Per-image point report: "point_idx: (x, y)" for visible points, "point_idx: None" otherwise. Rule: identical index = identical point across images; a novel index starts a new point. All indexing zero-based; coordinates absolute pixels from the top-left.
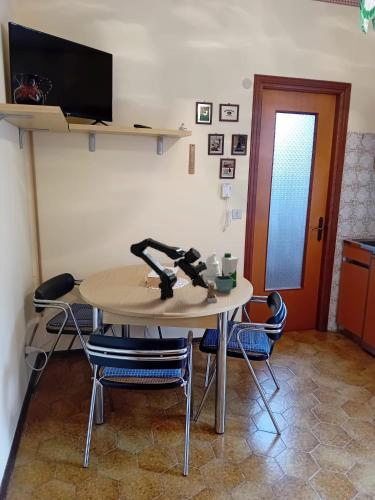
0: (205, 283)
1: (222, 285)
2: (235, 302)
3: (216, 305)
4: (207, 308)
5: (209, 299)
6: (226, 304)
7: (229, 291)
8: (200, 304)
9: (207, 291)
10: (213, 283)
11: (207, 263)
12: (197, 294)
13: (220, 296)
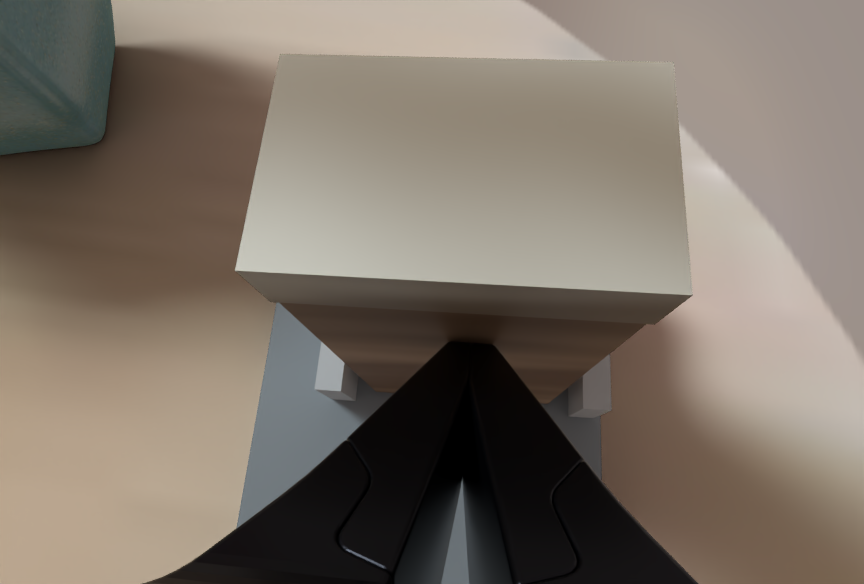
0: (453, 418)
1: (38, 15)
2: (495, 21)
3: None
4: (819, 458)
5: (607, 375)
6: None
7: (111, 10)
8: None
9: (354, 367)
10: (671, 102)
11: None
12: (31, 531)
13: (217, 164)
